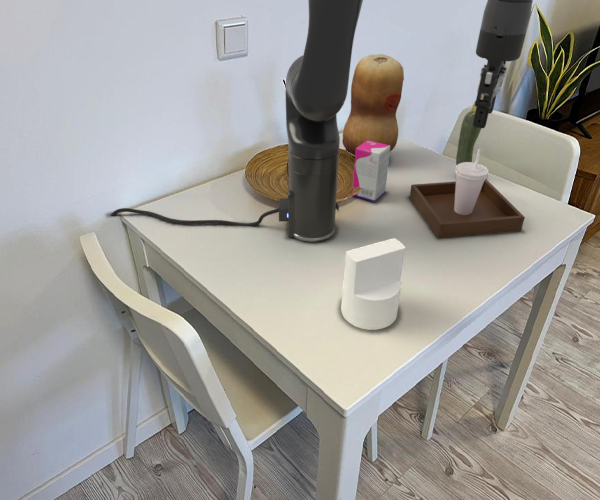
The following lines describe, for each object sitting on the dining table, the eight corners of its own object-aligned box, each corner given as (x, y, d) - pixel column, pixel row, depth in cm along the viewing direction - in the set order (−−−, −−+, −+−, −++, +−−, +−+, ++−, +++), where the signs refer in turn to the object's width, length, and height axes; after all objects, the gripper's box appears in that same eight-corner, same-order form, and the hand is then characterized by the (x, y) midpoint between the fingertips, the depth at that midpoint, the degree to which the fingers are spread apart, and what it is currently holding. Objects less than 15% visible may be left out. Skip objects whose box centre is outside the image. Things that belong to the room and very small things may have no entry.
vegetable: (450, 179, 121) (466, 95, 110) (452, 171, 124) (469, 89, 113) (469, 182, 120) (488, 98, 108) (471, 175, 123) (490, 92, 112)
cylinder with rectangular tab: (359, 336, 78) (365, 274, 71) (331, 301, 84) (334, 241, 78) (408, 319, 81) (418, 258, 74) (377, 287, 88) (384, 228, 81)
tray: (437, 238, 100) (440, 224, 98) (409, 197, 114) (411, 184, 112) (520, 231, 103) (525, 217, 101) (483, 192, 116) (486, 179, 114)
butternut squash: (369, 175, 122) (379, 68, 108) (330, 157, 131) (335, 55, 116) (406, 159, 130) (421, 57, 116) (368, 143, 138) (376, 46, 124)
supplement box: (386, 192, 115) (391, 144, 109) (374, 203, 111) (379, 154, 105) (363, 185, 118) (367, 138, 111) (351, 196, 114) (354, 148, 107)
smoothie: (479, 220, 105) (495, 156, 97) (447, 216, 106) (460, 153, 98) (477, 204, 110) (492, 143, 102) (447, 201, 111) (459, 140, 103)
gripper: (487, 18, 94) (469, 105, 103) (473, 33, 83) (454, 128, 92) (530, 22, 91) (508, 111, 100) (522, 38, 81) (497, 136, 90)
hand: (482, 119), depth 96 cm, fingers open, 8 cm apart
